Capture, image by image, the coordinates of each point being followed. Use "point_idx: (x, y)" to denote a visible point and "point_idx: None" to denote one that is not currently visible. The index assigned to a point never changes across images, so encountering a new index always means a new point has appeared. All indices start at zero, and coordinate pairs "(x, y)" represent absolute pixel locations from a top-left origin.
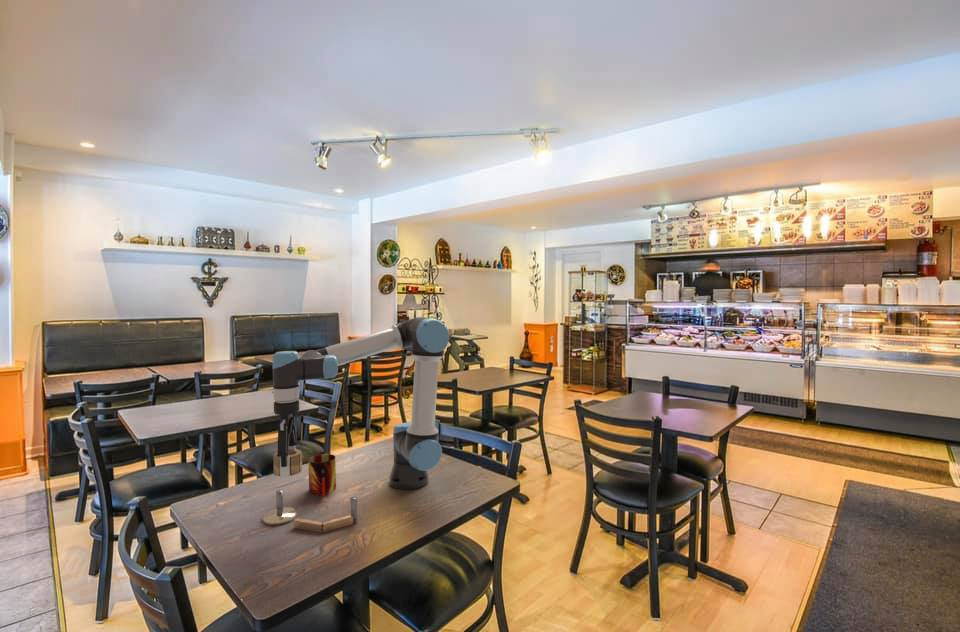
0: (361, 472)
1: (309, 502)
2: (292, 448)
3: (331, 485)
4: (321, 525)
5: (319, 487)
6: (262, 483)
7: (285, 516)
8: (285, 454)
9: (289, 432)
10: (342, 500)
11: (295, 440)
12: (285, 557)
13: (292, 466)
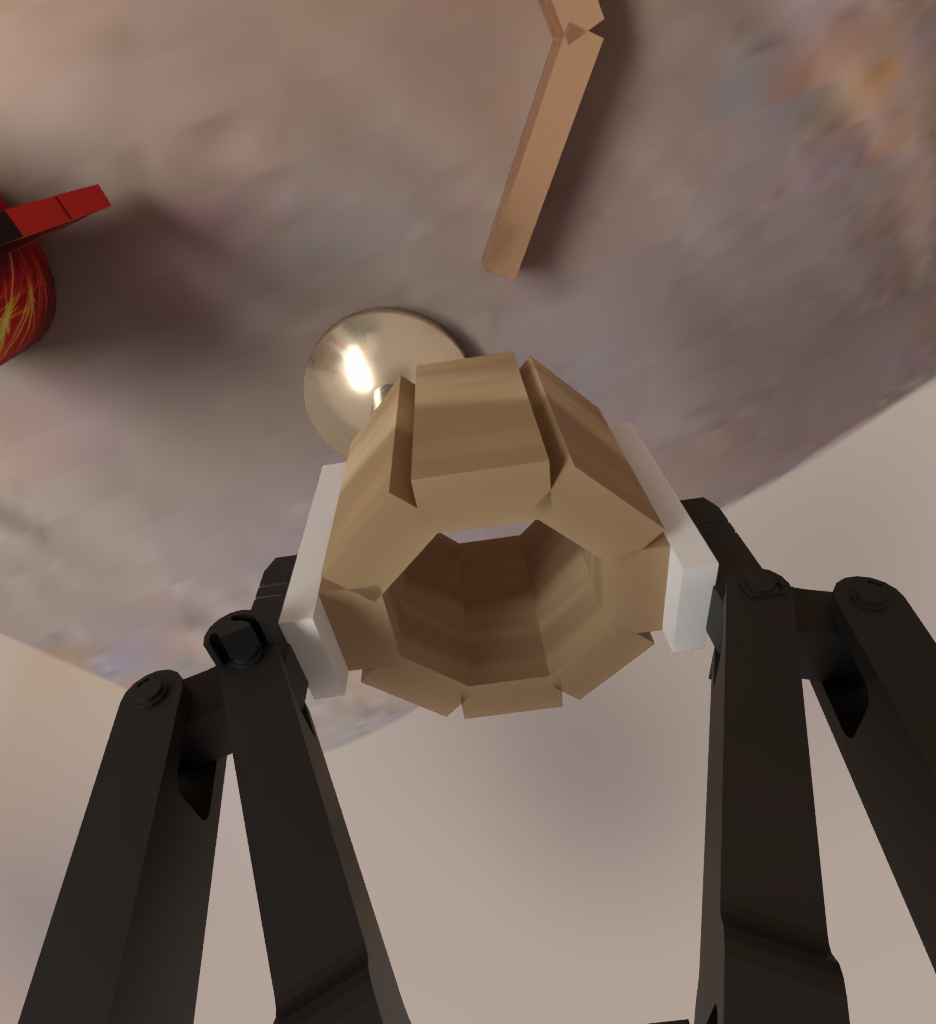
0: None
1: (174, 290)
2: (325, 622)
3: None
4: (597, 36)
5: (13, 270)
6: (33, 614)
7: (415, 359)
8: (902, 601)
9: (838, 974)
10: (66, 12)
11: (186, 690)
12: (831, 192)
13: (615, 448)
